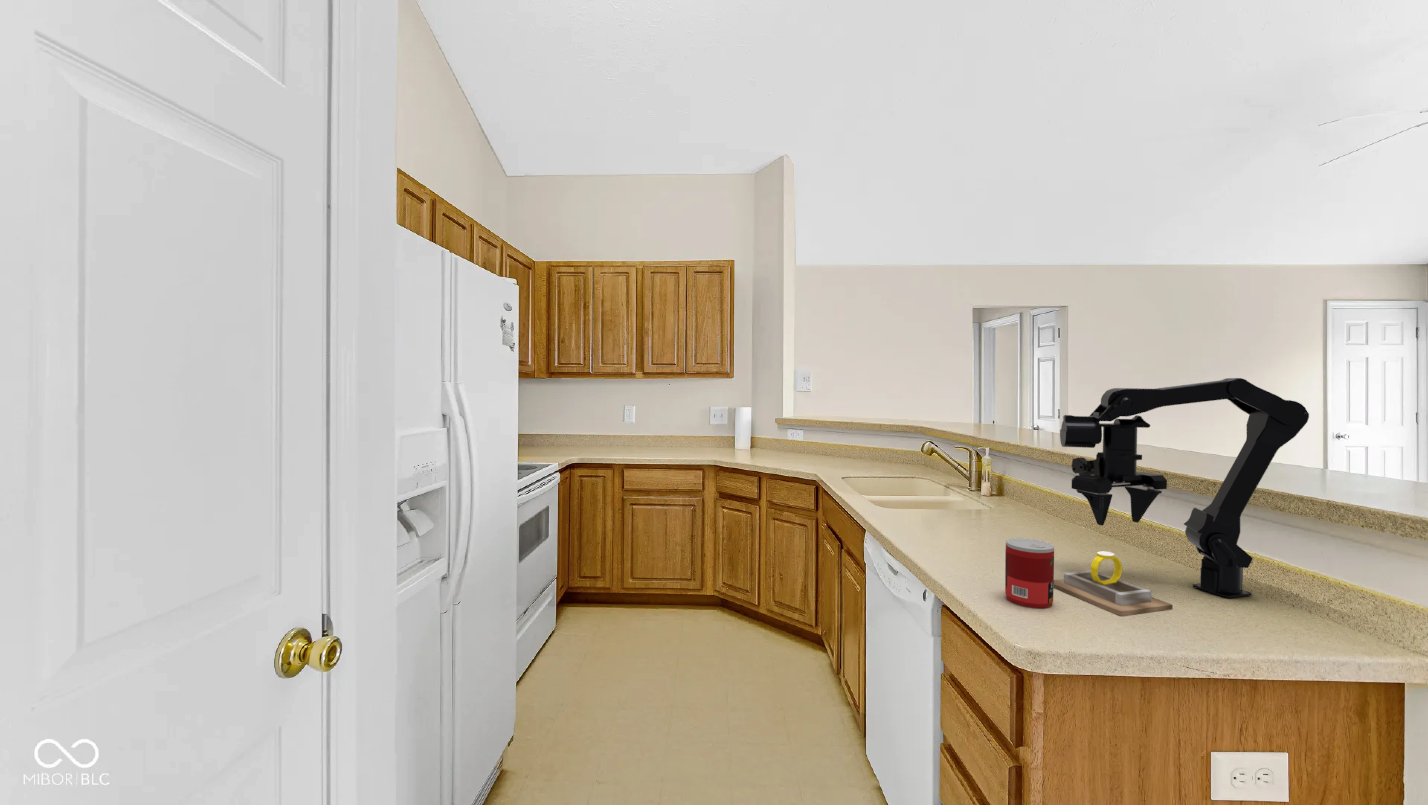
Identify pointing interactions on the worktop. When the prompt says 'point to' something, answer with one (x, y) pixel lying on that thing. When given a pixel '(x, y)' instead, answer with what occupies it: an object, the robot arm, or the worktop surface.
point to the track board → (1110, 594)
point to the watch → (1096, 562)
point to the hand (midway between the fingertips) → (1118, 523)
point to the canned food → (1029, 572)
